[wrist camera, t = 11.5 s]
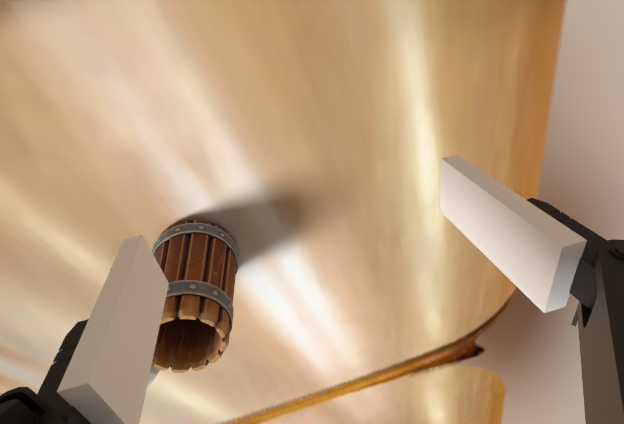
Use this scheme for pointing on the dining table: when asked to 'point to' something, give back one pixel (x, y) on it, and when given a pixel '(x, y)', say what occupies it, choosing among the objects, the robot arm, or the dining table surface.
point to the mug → (194, 295)
